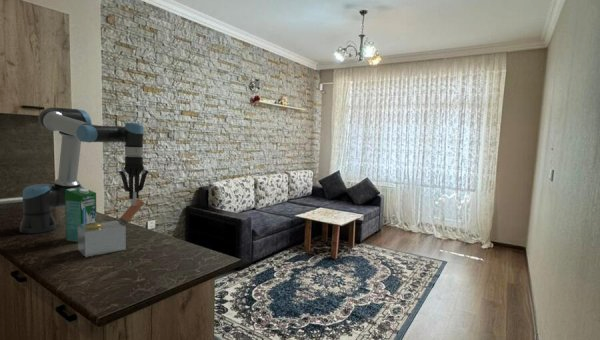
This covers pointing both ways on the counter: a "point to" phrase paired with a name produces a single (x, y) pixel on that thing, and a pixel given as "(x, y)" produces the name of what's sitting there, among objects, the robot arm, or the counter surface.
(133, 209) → the orange tab
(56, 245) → the counter surface
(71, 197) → the milk carton
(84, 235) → the block
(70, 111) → the robot arm
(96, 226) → the brass pin
